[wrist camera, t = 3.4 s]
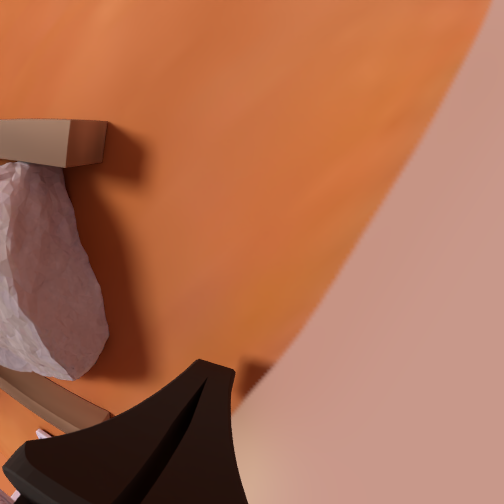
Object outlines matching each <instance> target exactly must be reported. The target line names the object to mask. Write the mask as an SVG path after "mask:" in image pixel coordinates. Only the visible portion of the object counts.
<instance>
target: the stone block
mask: <svg viewBox="0 0 504 504" xmlns="http://www.w3.org/2000/svg"><path fill="white" fill-rule="evenodd" d="M108 337H109V329H108V324H107V321H106V317H105V311H104V303H103V297H102V293H101V287H100V285H99V283H98V281H97V279H96V277H95V275H94V272H93V270H92V268H91V265H90V263H89V258H88V255H87V253H86V252H85V250H84V248H83V247H82V245H81V243H80V239H79V235H78V231H77V227H76V219H75V215H74V209H73V206H72V203H71V201H70V199H69V197H68V195H67V191H66V188H65V181H64V175H63V169H62V167H56V166H50V165H43V164H37V163H30V162H23V161H18V162H15V163H12V162H10V163H6V164H4V165H2V166H0V365H2V366H4V367H6V368H9V369H12V370H16V371H20V372H32V371H34V372H35V373H38V374H40V375H42V376H48V377H55V378H57V379H62V380H72V381H74V380H76V379H79V378H80V377H81V376H83V375H84V374H85V373H86V372H88V371H89V370H90V368H91V367H92V366H93V365H94V364H95V363H96V362H97V359H98V358H99V355H100V353H101V351H102V350H103V349H104V345H105V342H106V340H107V339H108Z"/></svg>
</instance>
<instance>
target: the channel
mask: <svg viewBox="0 0 504 504" xmlns="http://www.w3.org/2000/svg"><path fill="white" fill-rule="evenodd" d="M106 128H107V121H95V120H74V119H0V159H8V160H15V161H23V162H30V163H37V164H43V165H50V166H56V167H63V168H68V167H74V166H81V165H87V164H94V163H102V159H103V150H104V142H105V135H106ZM0 388H1V389H2V390H4V391H5V392H6V393H7V394H9V395H10V396H11V397H13V398H14V399H15V400H17V401H18V402H19V403H21V404H22V405H24V406H25V407H26V408H28V409H29V410H31V411H32V412H34V413H35V414H36V415H38V416H39V417H41V418H42V419H44V420H45V421H47V422H49V423H50V424H52V425H53V426H55V427H56V428H58V429H60V430H61V431H63V432H65V433H66V434H68V433H71V432H75V431H78V430H81V429H85V428H88V427H91V426H94V425H96V424H99V423H101V422H104V421H106V420H108V419H110V414H109V412H108V411H106V410H104V409H102V408H100V407H98V406H96V405H94V404H92V403H90V402H88V401H86V400H84V399H82V398H80V397H78V396H76V395H75V394H73V393H71V392H69V391H67V390H66V389H64V388H62V387H60V386H59V385H57V384H55V383H54V382H52V381H50V380H49V379H47V378H45V377H44V376H42V375H40V374H38V373H35V372H34V371H32V372H20V371H16V370H12V369H9V368H6V367H4V366H2V365H0Z"/></svg>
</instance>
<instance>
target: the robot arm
mask: <svg viewBox="0 0 504 504" xmlns="http://www.w3.org/2000/svg"><path fill="white" fill-rule="evenodd" d="M235 373H236V372H235V371H234V370H233V369H231V368H227V367H224V366H221V365H217V364H214V363H211V362H208V361H204V360H201V359H198V360H196V361H195V362H193V363H192V364H191V365H190V366H189V367H188V368H187V369H186V370H185V371H184V372H182V373H181V374H180V375H179V376H178V377H176V378H175V379H174V380H173V381H171V382H170V383H169V384H167V385H166V386H165V387H163V388H162V389H161V390H159V391H158V392H157V393H155V394H154V395H152V396H150V397H149V398H147V399H146V400H144V401H143V402H141V403H140V404H138V405H136V406H134V407H133V408H131V409H129V410H127V411H125V412H123V413H121V414H119V415H117V416H115V417H113V418H111V419H108V420H106V421H104V422H101V423H99V424H96V425H94V426H91V427H88V428H85V429H81V430H78V431H75V432H71V433H68V434H64V435H60V436H55V437H52V436H50V435H49V434H47V433H46V432H44V431H43V430H41V429H38V430H37V431H36V433H37V436H38V438H39V439H37V440H30V441H26V442H25V443H24V444H23V445H22V446H20V447H19V448H18V449H17V450H16V451H15V453H14V454H13V455H12V456H11V457H10V458H9V460H8V461H7V462H6V463H5V464H4V465H3V467H2V468H3V472H4V474H5V476H6V477H7V478H8V479H9V481H10V482H11V483H12V485H13V486H14V487H15V488H16V491H15V492H14V493H13V495H12V496H11V497H9V496H8V495H7V494H6V493H4V492H3V491H2V490H1V489H0V504H248V502H247V499H246V495H245V492H244V489H243V486H242V483H241V479H240V475H239V471H238V468H237V462H236V457H235V452H234V446H233V438H232V428H231V391H232V386H233V382H234V378H235Z"/></svg>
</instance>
